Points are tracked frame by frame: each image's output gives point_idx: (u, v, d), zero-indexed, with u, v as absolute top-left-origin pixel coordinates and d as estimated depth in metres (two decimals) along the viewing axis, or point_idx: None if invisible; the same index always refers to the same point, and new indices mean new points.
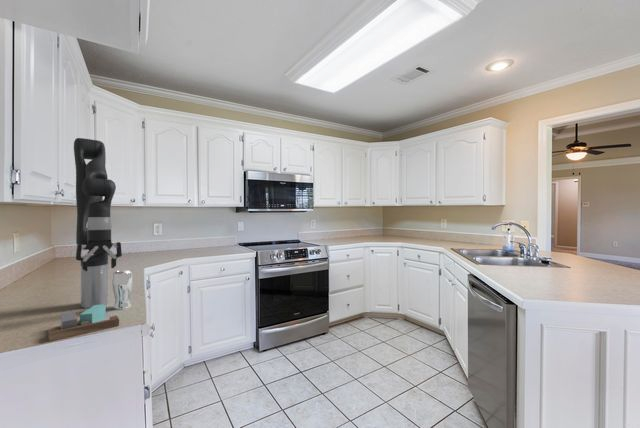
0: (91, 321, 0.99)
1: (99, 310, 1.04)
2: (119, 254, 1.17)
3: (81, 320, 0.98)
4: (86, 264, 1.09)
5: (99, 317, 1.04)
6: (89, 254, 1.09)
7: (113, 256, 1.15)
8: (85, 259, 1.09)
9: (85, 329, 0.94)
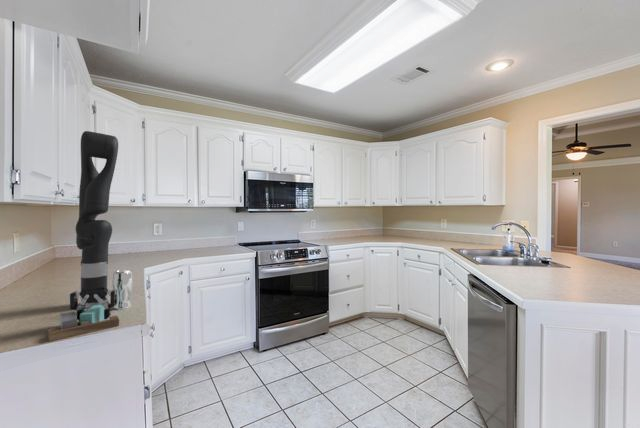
0: (91, 321, 0.99)
1: (99, 310, 1.04)
2: None
3: (81, 320, 0.98)
4: None
5: (98, 317, 1.04)
6: None
7: None
8: None
9: (85, 329, 0.94)
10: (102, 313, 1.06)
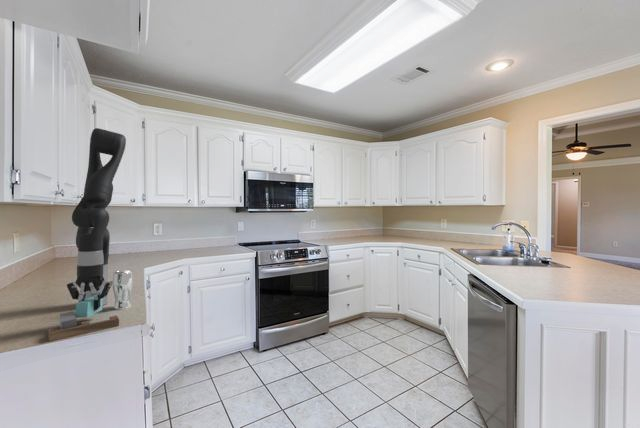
0: (86, 310, 0.99)
1: None
2: None
3: (77, 309, 0.98)
4: None
5: None
6: None
7: None
8: None
9: (85, 329, 0.94)
10: None
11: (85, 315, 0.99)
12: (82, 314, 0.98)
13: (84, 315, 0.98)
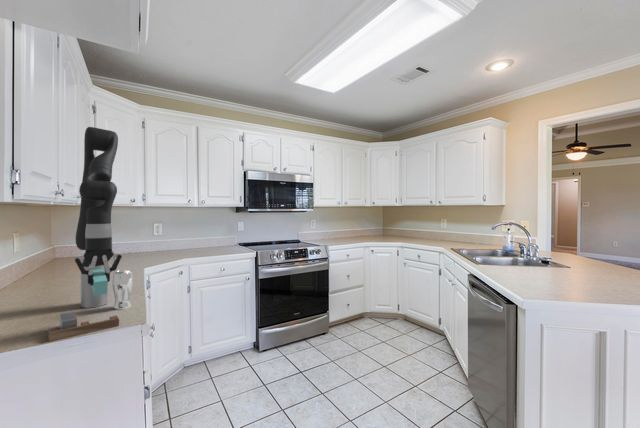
0: (106, 287, 1.00)
1: None
2: None
3: (95, 287, 0.98)
4: None
5: None
6: None
7: None
8: None
9: (85, 329, 0.94)
10: None
11: (105, 292, 1.00)
12: (101, 292, 0.99)
13: (104, 292, 1.00)
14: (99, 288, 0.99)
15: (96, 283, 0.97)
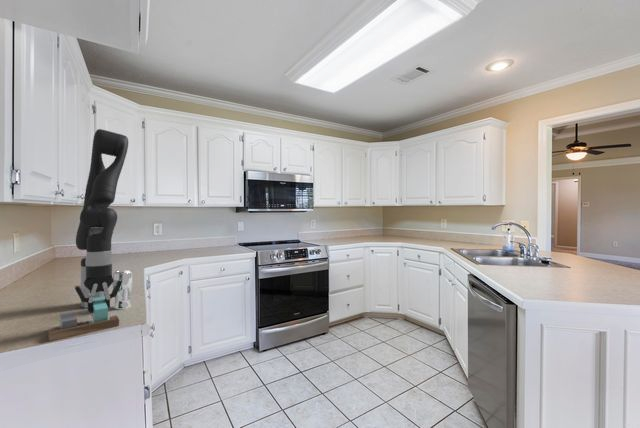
0: (106, 315, 1.00)
1: None
2: None
3: (96, 315, 0.98)
4: None
5: None
6: None
7: None
8: None
9: (85, 329, 0.94)
10: None
11: (105, 319, 1.00)
12: (102, 319, 0.99)
13: (104, 319, 1.00)
14: (100, 316, 0.98)
15: (97, 311, 0.98)
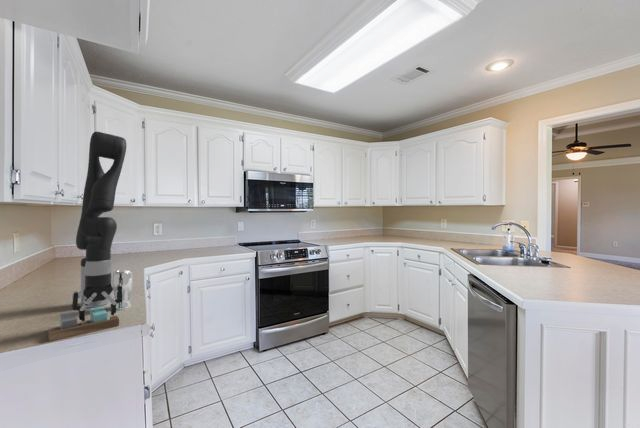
0: None
1: (104, 311, 1.03)
2: None
3: (95, 321, 0.98)
4: None
5: None
6: None
7: None
8: None
9: (85, 329, 0.94)
10: None
11: None
12: None
13: None
14: None
15: (96, 316, 0.98)
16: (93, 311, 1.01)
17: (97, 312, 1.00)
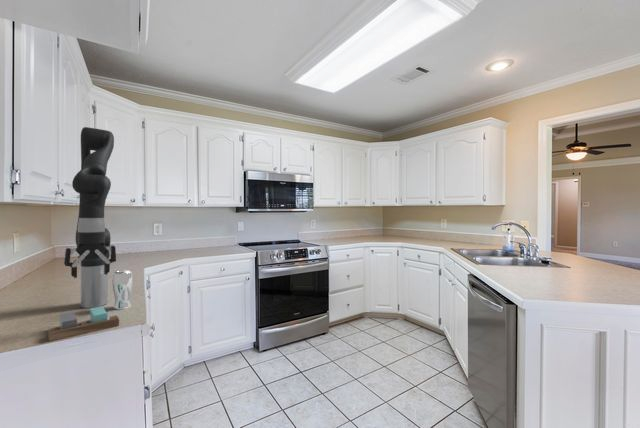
0: None
1: (104, 311, 1.03)
2: None
3: (95, 321, 0.98)
4: None
5: None
6: None
7: None
8: None
9: (85, 329, 0.94)
10: None
11: None
12: None
13: None
14: None
15: (96, 316, 0.98)
16: (93, 311, 1.01)
17: (97, 312, 1.00)
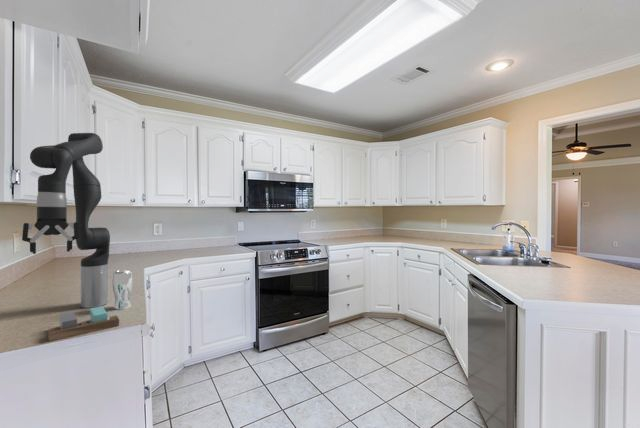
0: None
1: (104, 311, 1.03)
2: None
3: (95, 321, 0.97)
4: None
5: None
6: None
7: None
8: None
9: (85, 329, 0.94)
10: None
11: None
12: None
13: None
14: None
15: (96, 316, 0.98)
16: (93, 311, 1.01)
17: (97, 312, 1.00)
